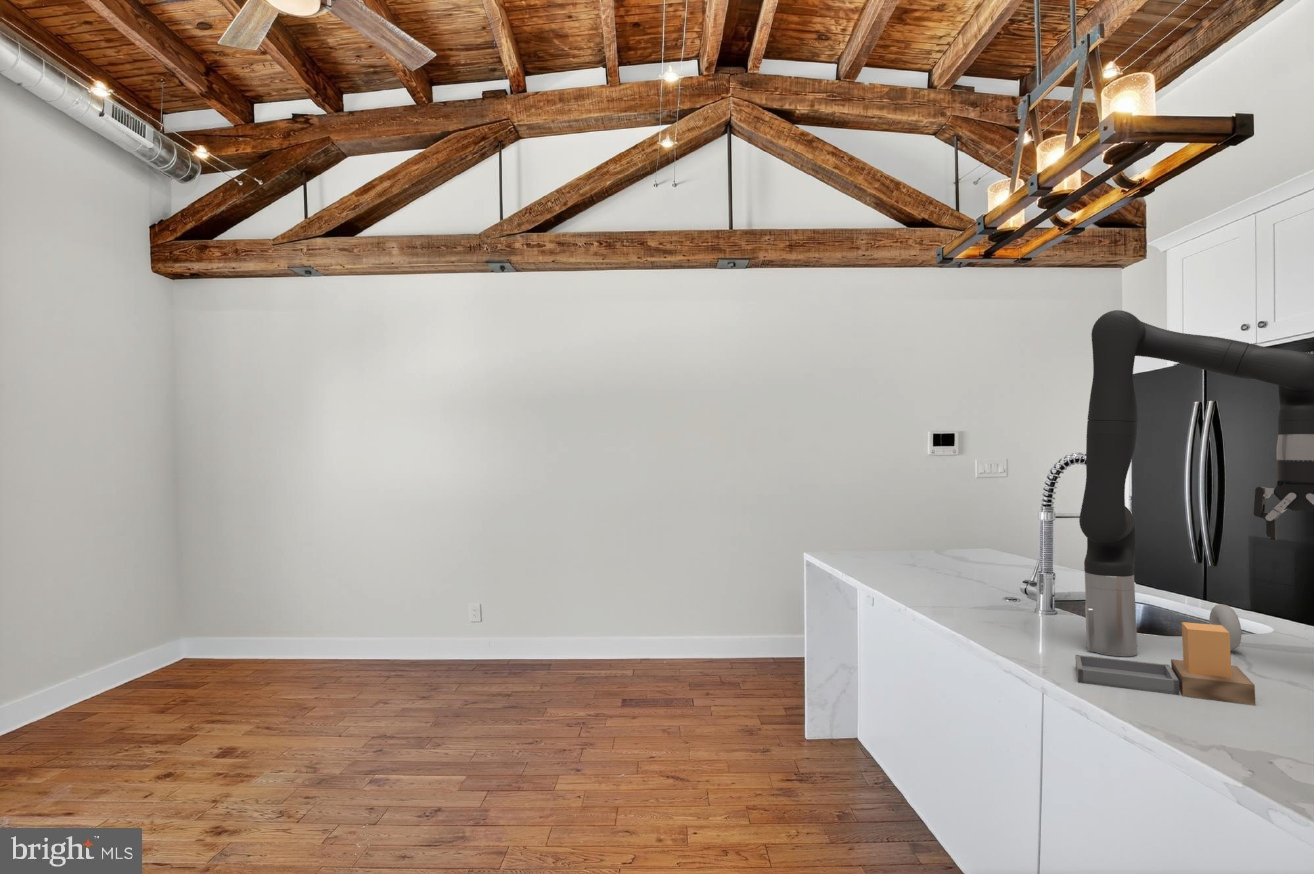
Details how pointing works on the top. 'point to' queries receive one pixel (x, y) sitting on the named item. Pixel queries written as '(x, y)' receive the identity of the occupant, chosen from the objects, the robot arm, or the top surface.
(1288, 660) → the top surface
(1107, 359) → the robot arm
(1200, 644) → the orange block
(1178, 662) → the walnut board
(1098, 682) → the tray
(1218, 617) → the donut
